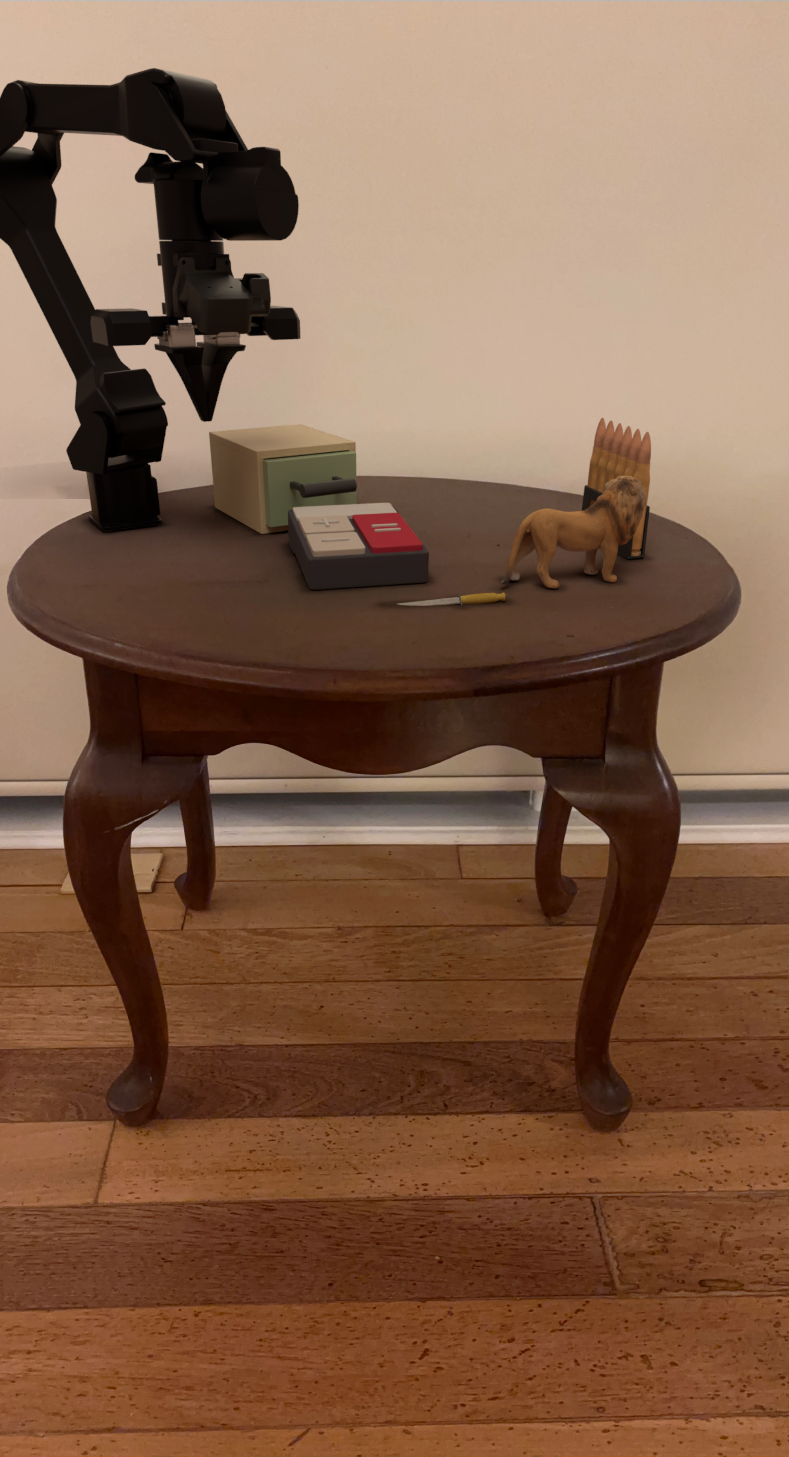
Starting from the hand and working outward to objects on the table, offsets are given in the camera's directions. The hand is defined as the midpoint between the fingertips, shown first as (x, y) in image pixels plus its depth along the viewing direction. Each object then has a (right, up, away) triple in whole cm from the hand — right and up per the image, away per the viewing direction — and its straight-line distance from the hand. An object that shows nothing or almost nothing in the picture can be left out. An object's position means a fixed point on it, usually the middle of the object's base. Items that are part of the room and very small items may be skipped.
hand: (206, 420), depth 91 cm
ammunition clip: (+41, -11, +5) cm, 43 cm away
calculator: (+15, -14, -1) cm, 20 cm away
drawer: (+8, -6, +13) cm, 16 cm away
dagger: (+23, -20, -11) cm, 32 cm away
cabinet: (+6, -5, +16) cm, 18 cm away
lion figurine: (+35, -16, -5) cm, 39 cm away
